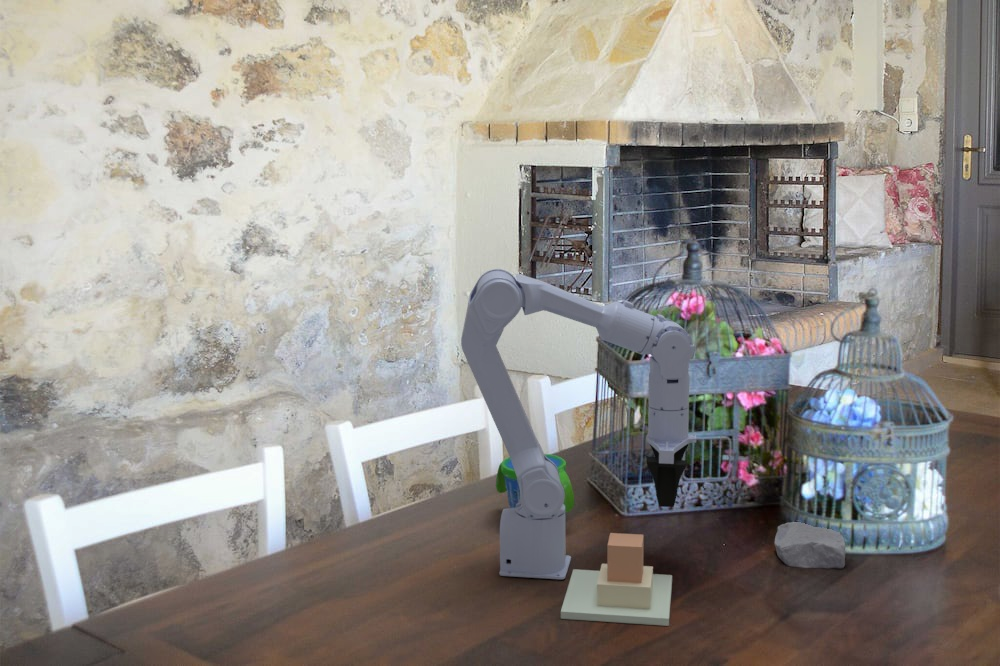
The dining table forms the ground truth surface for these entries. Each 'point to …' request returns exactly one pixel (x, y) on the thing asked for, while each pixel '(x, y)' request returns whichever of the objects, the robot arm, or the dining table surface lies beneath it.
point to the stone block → (810, 546)
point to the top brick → (625, 557)
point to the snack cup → (509, 483)
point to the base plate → (592, 612)
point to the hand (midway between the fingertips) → (667, 497)
